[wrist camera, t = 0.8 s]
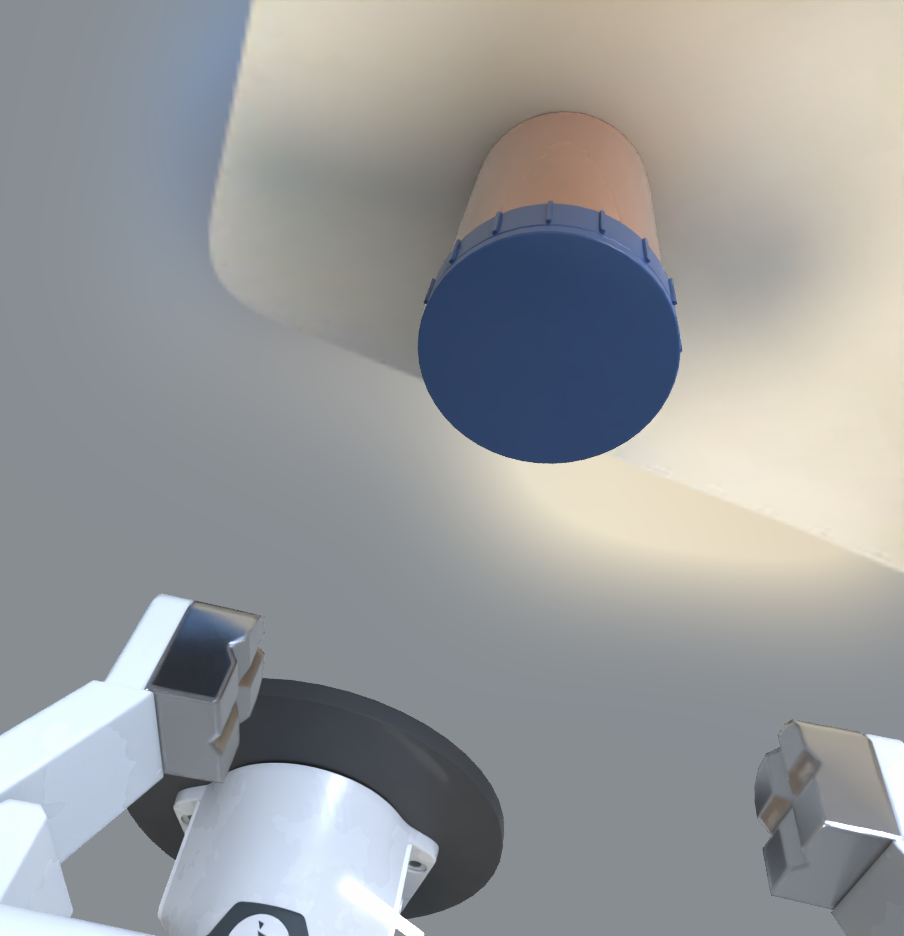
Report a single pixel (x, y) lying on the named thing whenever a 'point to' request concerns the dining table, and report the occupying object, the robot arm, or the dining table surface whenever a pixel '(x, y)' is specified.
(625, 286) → the jar lid
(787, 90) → the dining table surface
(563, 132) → the jar
